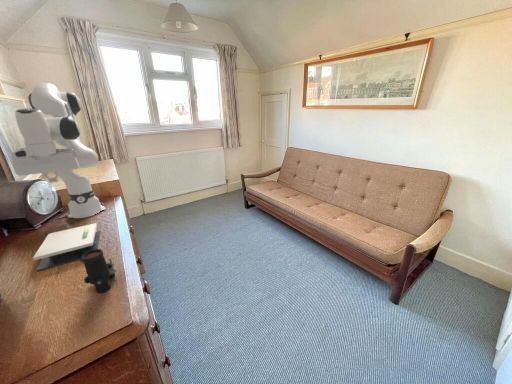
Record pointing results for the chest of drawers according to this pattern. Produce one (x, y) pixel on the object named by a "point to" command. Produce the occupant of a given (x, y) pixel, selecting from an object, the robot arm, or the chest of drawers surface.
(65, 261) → the stage base
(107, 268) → the scope
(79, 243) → the panel
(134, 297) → the chest of drawers surface
